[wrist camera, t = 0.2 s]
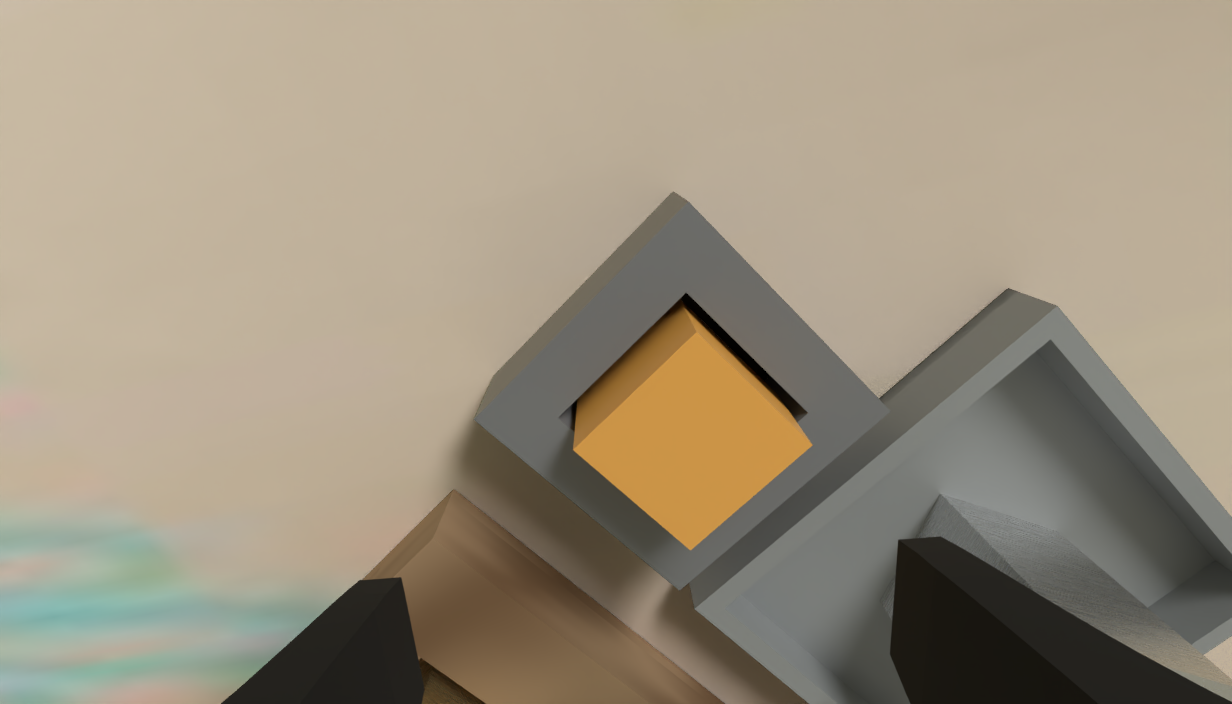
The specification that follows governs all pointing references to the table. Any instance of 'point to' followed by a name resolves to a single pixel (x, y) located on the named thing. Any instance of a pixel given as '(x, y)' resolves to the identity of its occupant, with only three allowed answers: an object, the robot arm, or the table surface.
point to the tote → (982, 475)
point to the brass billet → (443, 688)
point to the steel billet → (1065, 584)
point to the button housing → (614, 320)
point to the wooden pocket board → (520, 621)
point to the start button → (685, 427)
